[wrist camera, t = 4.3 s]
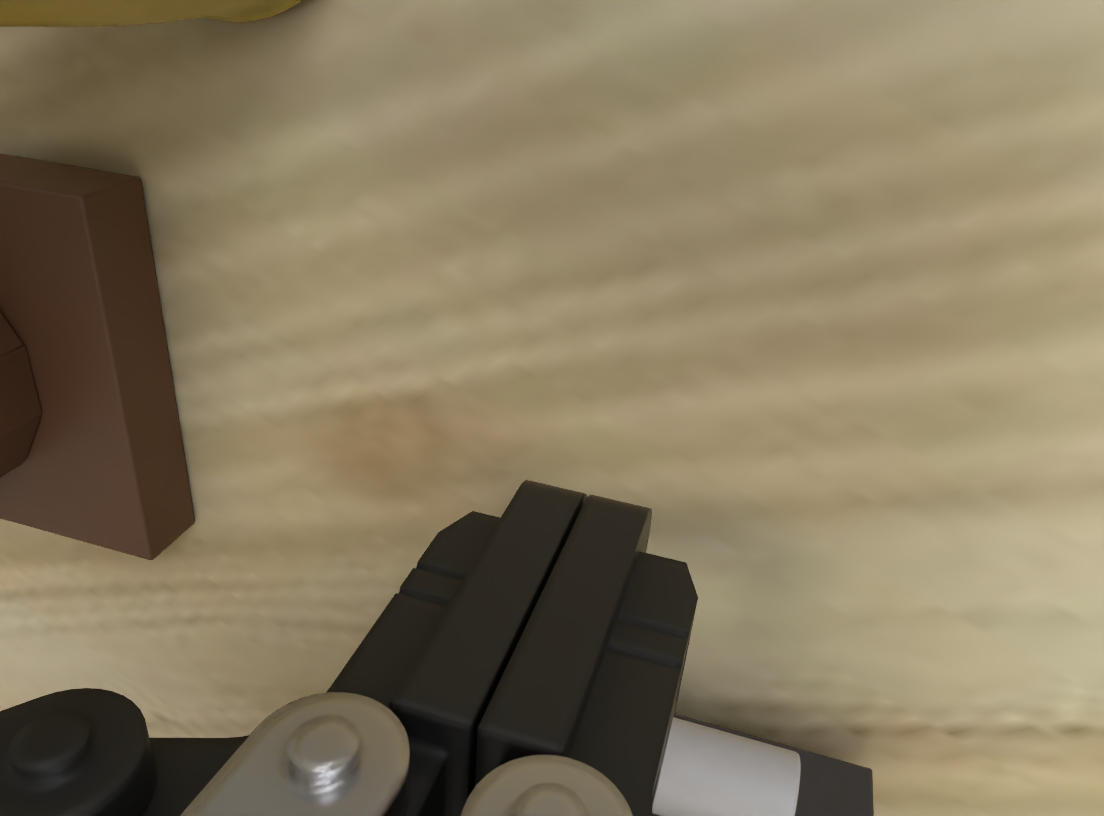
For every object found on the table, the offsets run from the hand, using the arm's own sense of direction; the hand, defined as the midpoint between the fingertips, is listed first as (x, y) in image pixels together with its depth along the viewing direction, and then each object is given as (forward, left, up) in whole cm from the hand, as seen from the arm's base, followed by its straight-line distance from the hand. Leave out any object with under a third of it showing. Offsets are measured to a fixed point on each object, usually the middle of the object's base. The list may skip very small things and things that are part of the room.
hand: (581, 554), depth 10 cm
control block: (-17, -3, -7) cm, 19 cm away
